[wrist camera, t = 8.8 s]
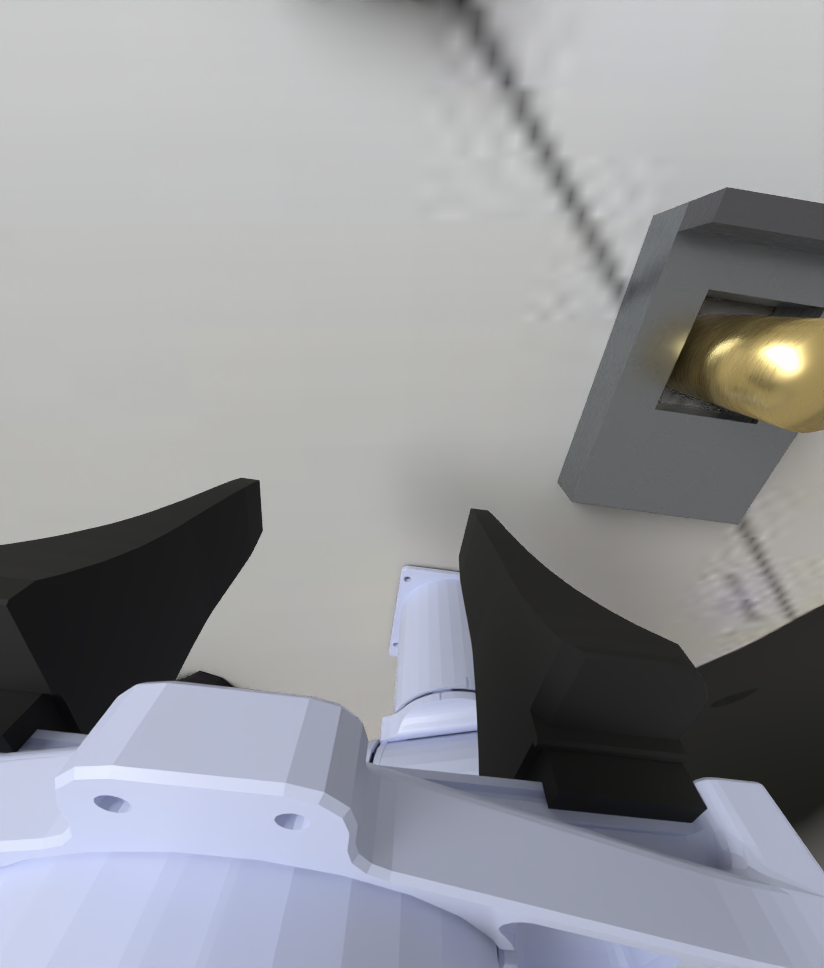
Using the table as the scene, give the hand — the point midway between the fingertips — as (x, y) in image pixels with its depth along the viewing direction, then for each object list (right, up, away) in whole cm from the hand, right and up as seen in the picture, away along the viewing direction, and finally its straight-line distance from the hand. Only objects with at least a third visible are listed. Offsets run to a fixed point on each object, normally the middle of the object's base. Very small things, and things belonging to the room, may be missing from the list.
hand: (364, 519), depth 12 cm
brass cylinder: (+17, +8, +7) cm, 20 cm away
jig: (+17, +7, +8) cm, 20 cm away
